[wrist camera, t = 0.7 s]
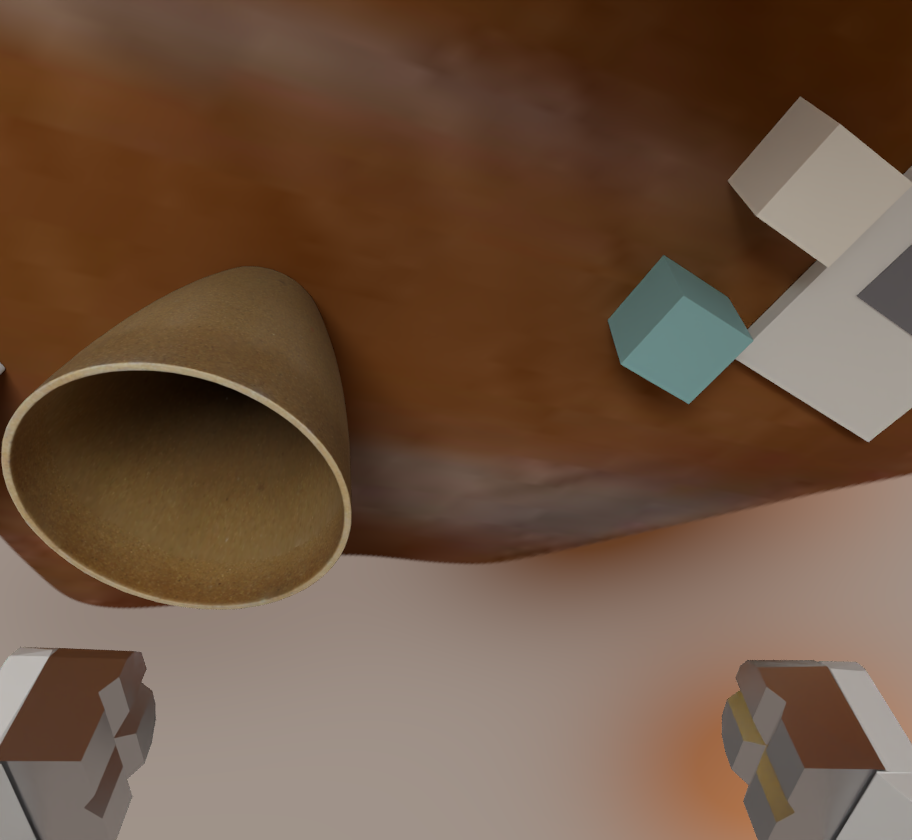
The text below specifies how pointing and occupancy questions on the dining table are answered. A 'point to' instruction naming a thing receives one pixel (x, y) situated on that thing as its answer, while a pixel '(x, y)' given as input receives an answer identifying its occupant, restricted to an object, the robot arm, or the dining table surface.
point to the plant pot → (193, 448)
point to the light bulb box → (1, 368)
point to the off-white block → (817, 182)
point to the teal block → (677, 331)
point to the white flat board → (847, 330)
